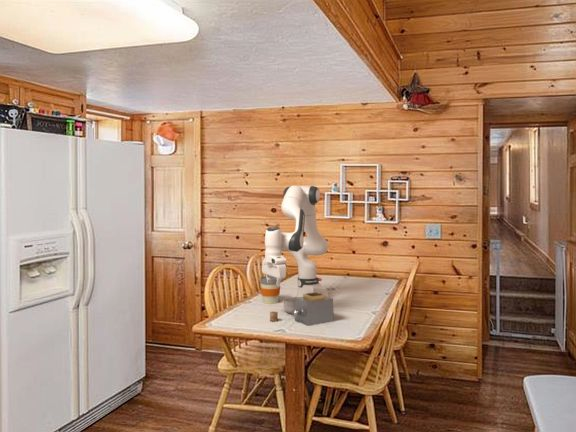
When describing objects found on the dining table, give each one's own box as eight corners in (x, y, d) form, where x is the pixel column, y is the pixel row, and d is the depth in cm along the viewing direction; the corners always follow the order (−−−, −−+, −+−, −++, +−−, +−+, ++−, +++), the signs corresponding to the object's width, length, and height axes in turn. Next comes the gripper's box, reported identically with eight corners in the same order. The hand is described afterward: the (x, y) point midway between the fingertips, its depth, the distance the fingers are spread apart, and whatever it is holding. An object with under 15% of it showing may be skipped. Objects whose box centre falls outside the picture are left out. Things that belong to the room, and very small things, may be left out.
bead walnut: (275, 319, 275) (275, 311, 274) (279, 321, 271) (279, 312, 271) (268, 320, 273) (268, 312, 272) (272, 322, 269) (272, 313, 269)
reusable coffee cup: (281, 300, 319) (281, 276, 317) (279, 305, 306) (279, 280, 305) (261, 299, 320) (261, 275, 319) (258, 304, 307) (258, 279, 306)
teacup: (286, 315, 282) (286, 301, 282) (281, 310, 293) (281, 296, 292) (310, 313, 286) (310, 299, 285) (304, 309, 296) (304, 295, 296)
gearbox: (320, 316, 281) (320, 290, 280) (333, 321, 270) (333, 294, 269) (290, 321, 271) (290, 294, 270) (302, 326, 261) (302, 299, 260)
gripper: (258, 256, 277) (259, 281, 278) (277, 261, 259) (277, 288, 260) (269, 255, 280) (269, 280, 281) (288, 260, 263) (288, 287, 263)
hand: (273, 284), depth 271 cm, fingers open, 8 cm apart
